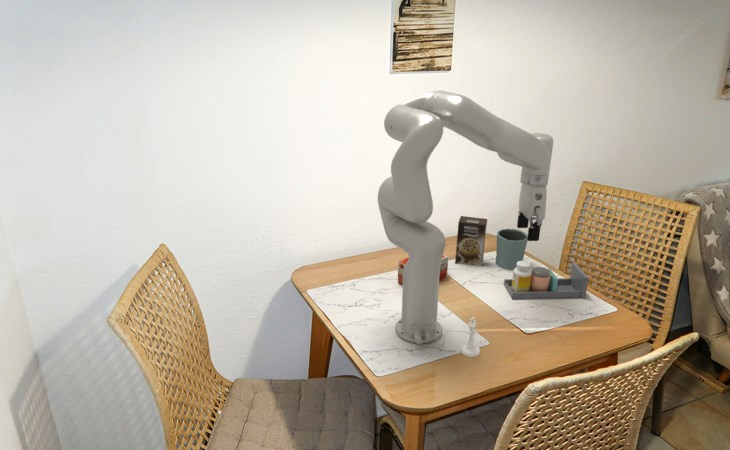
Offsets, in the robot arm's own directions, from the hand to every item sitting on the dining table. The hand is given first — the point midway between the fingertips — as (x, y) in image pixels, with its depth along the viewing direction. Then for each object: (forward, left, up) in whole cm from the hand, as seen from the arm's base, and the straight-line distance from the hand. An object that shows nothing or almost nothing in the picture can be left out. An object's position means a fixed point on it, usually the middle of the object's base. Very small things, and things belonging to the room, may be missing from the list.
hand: (527, 233), depth 163 cm
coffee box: (+22, +11, -20) cm, 32 cm away
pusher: (0, -9, -19) cm, 21 cm away
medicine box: (+10, +29, -21) cm, 37 cm away
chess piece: (-29, +22, -20) cm, 42 cm away
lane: (0, -7, -20) cm, 21 cm away
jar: (0, -6, -19) cm, 20 cm away
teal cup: (+19, -2, -20) cm, 28 cm away
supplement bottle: (0, 0, -19) cm, 19 cm away
